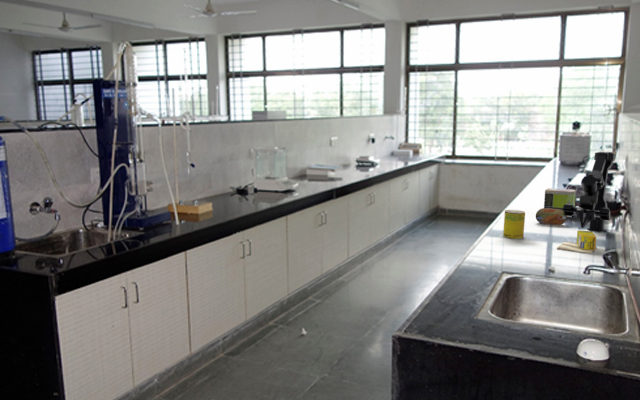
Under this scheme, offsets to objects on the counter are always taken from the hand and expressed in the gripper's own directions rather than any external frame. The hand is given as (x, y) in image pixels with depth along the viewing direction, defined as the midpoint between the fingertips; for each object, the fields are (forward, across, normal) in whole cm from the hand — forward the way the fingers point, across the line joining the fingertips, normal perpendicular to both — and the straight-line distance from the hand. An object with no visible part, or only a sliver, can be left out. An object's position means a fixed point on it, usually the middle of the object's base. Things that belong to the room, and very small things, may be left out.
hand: (582, 227), depth 229 cm
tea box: (-41, -25, +53) cm, 71 cm away
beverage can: (+8, -29, +4) cm, 30 cm away
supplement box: (+2, +1, +4) cm, 5 cm away
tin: (-21, -22, +33) cm, 45 cm away
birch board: (+11, 0, +1) cm, 11 cm away
